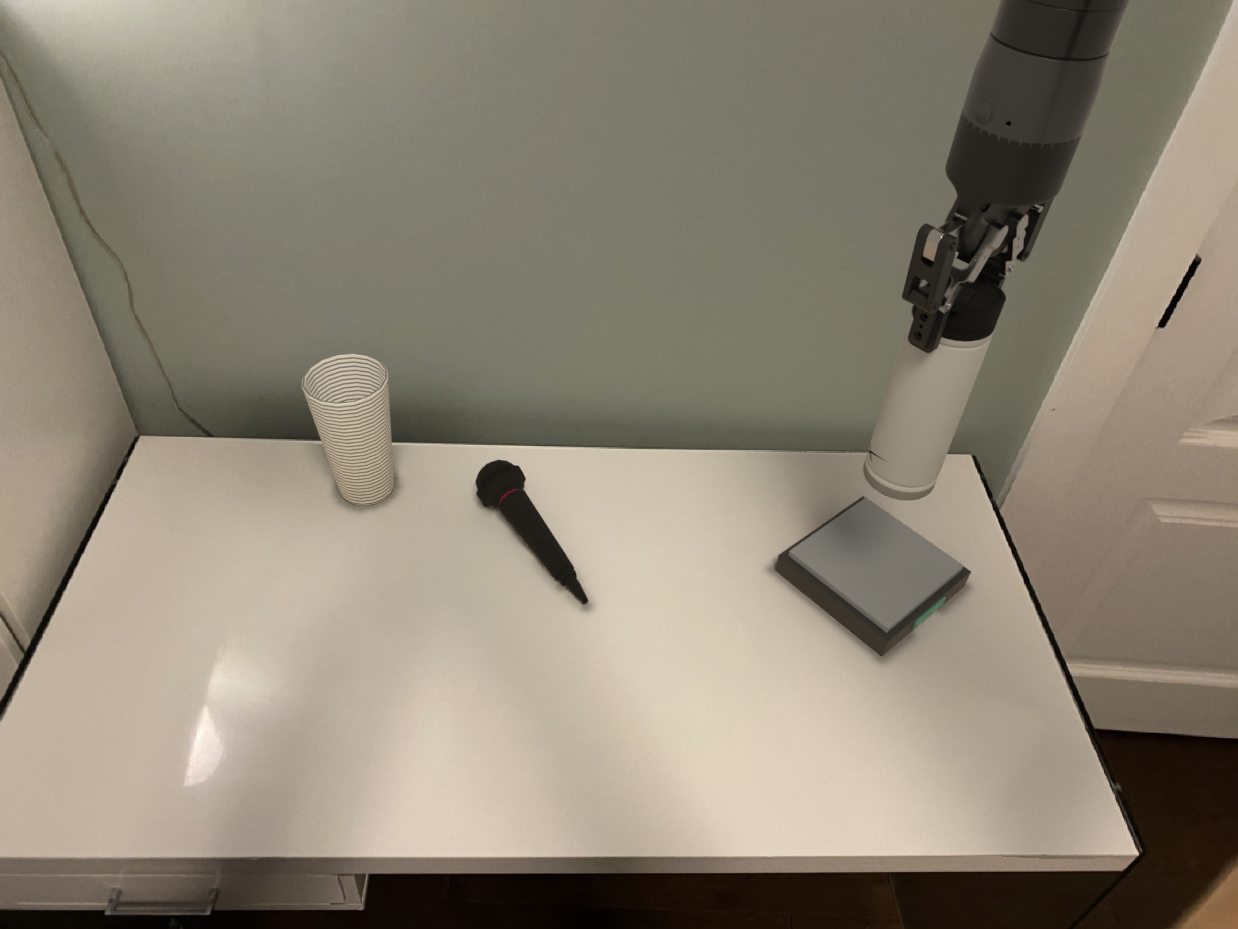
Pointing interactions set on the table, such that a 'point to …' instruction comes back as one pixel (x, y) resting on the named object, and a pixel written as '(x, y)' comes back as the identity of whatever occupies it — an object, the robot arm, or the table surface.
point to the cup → (353, 423)
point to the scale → (872, 573)
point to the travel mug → (930, 396)
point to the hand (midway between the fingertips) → (949, 329)
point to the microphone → (526, 519)
